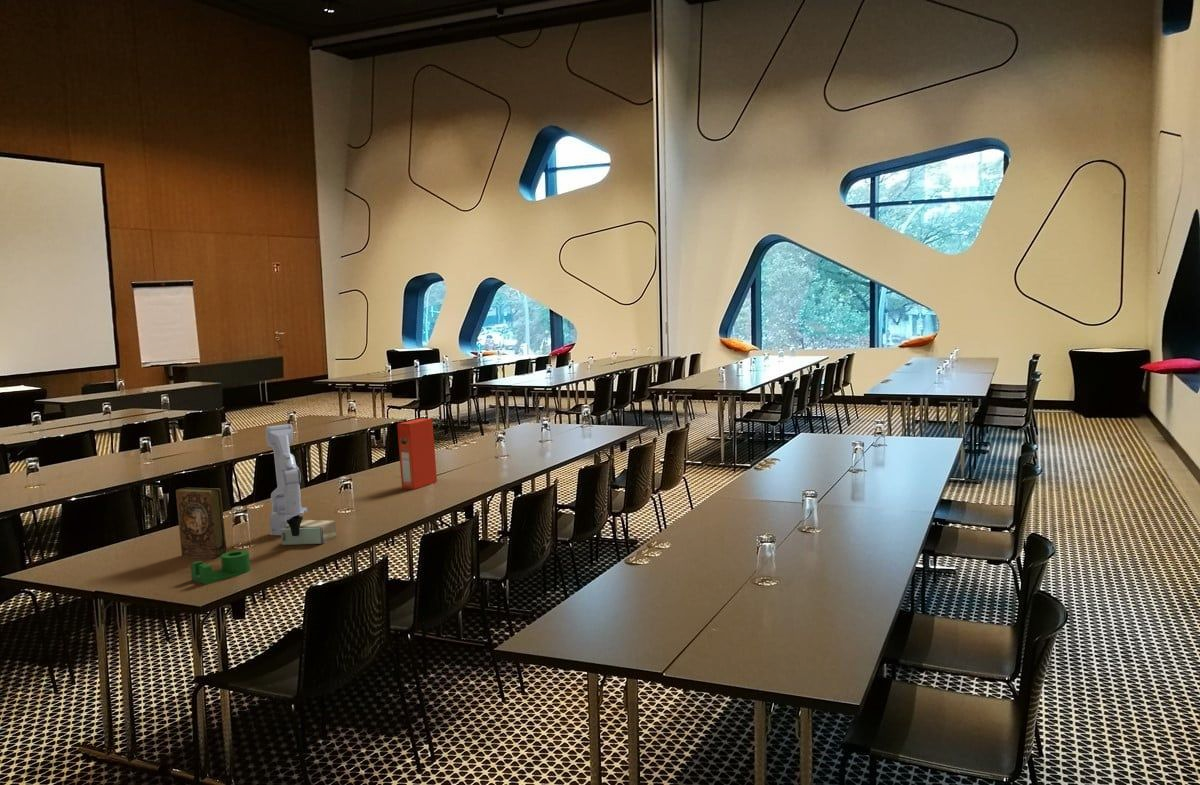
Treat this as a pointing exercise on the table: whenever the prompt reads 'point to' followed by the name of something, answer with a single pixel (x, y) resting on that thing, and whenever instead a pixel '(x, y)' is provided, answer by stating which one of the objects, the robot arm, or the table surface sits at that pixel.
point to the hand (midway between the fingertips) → (295, 535)
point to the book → (201, 522)
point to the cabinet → (327, 527)
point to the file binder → (417, 453)
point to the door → (302, 536)
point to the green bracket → (231, 566)
